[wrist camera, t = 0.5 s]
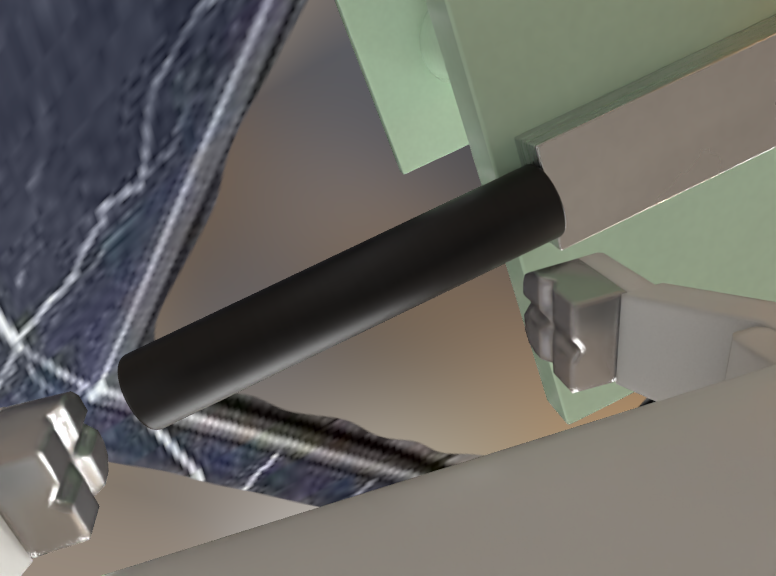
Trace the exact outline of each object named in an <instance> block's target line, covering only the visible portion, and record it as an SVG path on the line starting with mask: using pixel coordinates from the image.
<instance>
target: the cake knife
mask: <svg viewBox="0 0 776 576" xmlns="http://www.w3.org/2000/svg"><path fill="white" fill-rule="evenodd" d="M515 143H516V147H517V151H518V155H519V158H520V162H521V166H522V167H520V168H518V169H516V170H514V171H512V172H510V173H508V174H505V175H503V176H501V177H499V178H497V179H495V180H493V181H491V182H489V183H486V184H484V185H482V186H480V187H478V188H476V189H474V190H472V191H470V192H468V193H465V194H463V195H461V196H459V197H457V198H455V199H453V200H451V201H449V202H446V203H444V204H442V205H440V206H438V207H436V208H434V209H432V210H429V211H428V212H425V213H423V214H421V215H419V216H417V217H415V218H413V219H411V220H409V221H406V222H404V223H402V224H400V225H398V226H396V227H394V228H392V229H389V230H387V231H385V232H383V233H381V234H379V235H377V236H375V237H373V238H370V239H368V240H366V241H364V242H362V243H360V244H358V245H356V246H354V247H351V248H350V249H347V250H345V251H343V252H341V253H339V254H337V255H335V256H332V257H330V258H328V259H326V260H324V261H322V262H320V263H318V264H316V265H314V266H311V267H309V268H307V269H305V270H303V271H301V272H299V273H297V274H294V275H292V276H290V277H288V278H286V279H284V280H282V281H280V282H278V283H275V284H273V285H271V286H269V287H267V288H265V289H263V290H261V291H259V292H257V293H254V294H252V295H250V296H248V297H246V298H244V299H242V300H240V301H237V302H235V303H233V304H231V305H229V306H227V307H225V308H223V309H221V310H219V311H216V312H214V313H213V314H210V315H208V316H206V317H204V318H202V319H199V320H197V321H196V322H193V323H191V324H189V325H187V326H185V327H183V328H181V329H178V330H176V331H174V332H172V333H170V334H168V335H166V336H164V337H162V338H160V339H157V340H155V341H153V342H151V343H149V344H147V345H145V346H143V347H140V348H138V349H136V350H134V351H132V352H130V353H128V354H126V355H124V356H123V357H122V358H121V360H120V361H119V364H118V379H119V384H120V387H121V391H122V393H123V396H124V398H125V400H126V402H127V404H128V406H129V407H130V409H131V411H132V412H133V414H134V415H135V416H136V417H137V418H138V419H139V421H140V422H142V423H143V424H144V425H145V426H147V427H148V428H150V429H154V430H159V429H163V428H165V427H167V426H169V425H171V424H173V423H175V422H177V421H179V420H181V419H184V418H186V417H188V416H190V415H192V414H194V413H196V412H198V411H200V410H202V409H204V408H206V407H208V406H210V405H213V404H215V403H217V402H219V401H221V400H223V399H225V398H227V397H229V396H231V395H233V394H235V393H237V392H239V391H242V390H244V389H246V388H247V387H250V386H252V385H254V384H256V383H258V382H260V381H262V380H264V379H266V378H268V377H271V376H273V375H275V374H277V373H279V372H281V371H283V370H285V369H287V368H289V367H291V366H293V365H295V364H297V363H300V362H302V361H304V360H306V359H308V358H310V357H312V356H314V355H316V354H318V353H320V352H322V351H324V350H327V349H329V348H331V347H333V346H335V345H337V344H339V343H341V342H343V341H345V340H347V339H349V338H351V337H353V336H356V335H357V334H359V333H362V332H364V331H366V330H368V329H370V328H372V327H374V326H376V325H378V324H380V323H383V322H385V321H387V320H389V319H391V318H393V317H395V316H397V315H399V314H401V313H403V312H405V311H407V310H409V309H412V308H414V307H416V306H418V305H420V304H422V303H424V302H426V301H428V300H430V299H432V298H434V297H436V296H438V295H440V294H442V293H445V292H446V291H449V290H451V289H453V288H455V287H457V286H459V285H461V284H463V283H465V282H467V281H470V280H472V279H474V278H476V277H478V276H480V275H482V274H484V273H486V272H488V271H490V270H492V269H494V268H497V267H499V266H501V265H502V264H505V263H507V262H509V261H511V260H513V259H515V258H517V257H519V256H521V255H523V254H526V253H528V252H530V251H532V250H534V249H536V248H538V247H540V246H542V245H544V244H546V243H548V242H549V243H551V244H552V245H554V246H555V247H557V248H558V249H559V250H564V249H566V248H568V247H571V246H573V245H575V244H577V243H579V242H581V241H583V240H585V239H587V238H589V237H591V236H593V235H595V234H597V233H599V232H602V231H604V230H606V229H608V228H610V227H612V226H614V225H616V224H618V223H620V222H622V221H624V220H626V219H628V218H630V217H633V216H635V215H637V214H639V213H641V212H643V211H645V210H647V209H649V208H651V207H653V206H655V205H657V204H659V203H661V202H664V201H666V200H668V199H670V198H672V197H674V196H676V195H678V194H680V193H682V192H684V191H686V190H688V189H690V188H692V187H695V186H697V185H699V184H701V183H703V182H705V181H707V180H709V179H711V178H713V177H715V176H717V175H719V174H721V173H723V172H726V171H728V170H730V169H732V168H734V167H736V166H738V165H740V164H742V163H744V162H746V161H748V160H750V159H752V158H754V157H757V156H759V155H761V154H763V153H765V152H767V151H769V150H771V149H773V148H775V147H776V14H775V15H773V16H771V17H769V18H767V19H765V20H763V21H760V22H758V23H756V24H754V25H752V26H750V27H748V28H746V29H743V30H741V31H739V32H737V33H735V34H733V35H731V36H729V37H726V38H724V39H722V40H720V41H718V42H716V43H714V44H712V45H709V46H707V47H705V48H703V49H701V50H699V51H697V52H695V53H692V54H690V55H688V56H686V57H684V58H682V59H680V60H678V61H675V62H673V63H671V64H669V65H667V66H665V67H663V68H661V69H658V70H656V71H654V72H652V73H650V74H648V75H646V76H644V77H641V78H639V79H637V80H635V81H633V82H631V83H629V84H627V85H624V86H622V87H620V88H618V89H616V90H614V91H612V92H610V93H607V94H605V95H603V96H601V97H599V98H597V99H595V100H593V101H590V102H588V103H586V104H584V105H582V106H580V107H578V108H576V109H573V110H571V111H569V112H567V113H565V114H563V115H561V116H559V117H556V118H554V119H552V120H550V121H548V122H546V123H544V124H542V125H539V126H537V127H535V128H533V129H531V130H529V131H527V132H525V133H522V134H520V135H518V136H516V137H515Z"/></svg>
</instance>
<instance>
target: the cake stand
mask: <svg viewBox="0 0 776 576" xmlns="http://www.w3.org/2000/svg"><path fill="white" fill-rule="evenodd" d="M335 3H336V5H337V8H338V11H339V13H340V16H341V18H342V21H343V24H344V26H345V29H346V31H347V34H348V37H349V39H350V42H351V44H352V47H353V50H354V52H355V55H356V58H357V60H358V63H359V65H360V68H361V71H362V73H363V76H364V78H365V81H366V84H367V86H368V89H369V92H370V94H371V97H372V99H373V102H374V105H375V107H376V110H377V112H378V115H379V118H380V120H381V123H382V125H383V128H384V131H385V133H386V136H387V138H388V141H389V143H390V146H391V149H392V152H393V154H394V156H395V159H396V162H397V164H398V167H399V169H400V172H402V173H403V174H406V173H408V172H411V171H413V170H415V169H417V168H419V167H421V166H423V165H425V164H428V163H429V162H432V161H434V160H436V159H438V158H440V157H442V156H445V155H447V154H449V153H451V152H453V151H455V150H457V149H460V148H462V147H464V146H466V145H468V144H469V145H470V148H471V152H472V155H473V158H474V161H475V165H476V168H477V171H478V175H479V178H480V181H481V184H482V185H484V184H486V183H489V182H491V181H493V180H495V179H497V178H499V177H501V176H503V175H505V174H508V173H510V172H512V171H514V170H516V169H518V168H520V167H522V166H521V162H520V158H519V155H518V151H517V147H516V143H515V137H516V136H518V135H520V134H522V133H525V132H527V131H529V130H531V129H533V128H535V127H537V126H539V125H542V124H544V123H546V122H548V121H550V120H552V119H554V118H556V117H559V116H561V115H563V114H565V113H567V112H569V111H571V110H573V109H576V108H578V107H580V106H582V105H584V104H586V103H588V102H590V101H593V100H595V99H597V98H599V97H601V96H603V95H605V94H607V93H610V92H612V91H614V90H616V89H618V88H620V87H622V86H624V85H627V84H629V83H631V82H633V81H635V80H637V79H639V78H641V77H644V76H646V75H648V74H650V73H652V72H654V71H656V70H658V69H661V68H663V67H665V66H667V65H669V64H671V63H673V62H675V61H678V60H680V59H682V58H684V57H686V56H688V55H690V54H692V53H695V52H697V51H699V50H701V49H703V48H705V47H707V46H709V45H712V44H714V43H716V42H718V41H720V40H722V39H724V38H726V37H729V36H731V35H733V34H735V33H737V32H739V31H741V30H743V29H746V28H748V27H750V26H752V25H754V24H756V23H758V22H760V21H763V20H765V19H767V18H769V17H771V16H773V15H775V14H776V0H335ZM593 253H604V254H606V255H608V256H609V257H611V258H612V259H614V260H616V261H617V262H619V263H621V264H622V265H624V266H625V267H627V268H629V269H630V270H632V271H634V272H635V273H637V274H638V275H640V276H642V277H643V278H645V279H647V280H648V281H650V282H651V283H653V284H655V285H656V284H660V283H667V284H673V285H679V286H685V287H691V288H696V289H702V290H708V291H714V292H720V293H726V294H732V295H738V296H744V297H750V298H756V299H761V300H767V301H773V302H776V147H775V148H773V149H771V150H769V151H767V152H765V153H763V154H761V155H759V156H757V157H754V158H752V159H750V160H748V161H746V162H744V163H742V164H740V165H738V166H736V167H734V168H732V169H730V170H728V171H726V172H723V173H721V174H719V175H717V176H715V177H713V178H711V179H709V180H707V181H705V182H703V183H701V184H699V185H697V186H695V187H692V188H690V189H688V190H686V191H684V192H682V193H680V194H678V195H676V196H674V197H672V198H670V199H668V200H666V201H664V202H661V203H659V204H657V205H655V206H653V207H651V208H649V209H647V210H645V211H643V212H641V213H639V214H637V215H635V216H633V217H630V218H628V219H626V220H624V221H622V222H620V223H618V224H616V225H614V226H612V227H610V228H608V229H606V230H604V231H602V232H599V233H597V234H595V235H593V236H591V237H589V238H587V239H585V240H583V241H581V242H579V243H577V244H575V245H573V246H571V247H568V248H566V249H564V250H559V249H558V248H557V247H555V246H554V245H552V244H551V243H549V242H548V243H546V244H544V245H542V246H540V247H538V248H536V249H534V250H532V251H530V252H528V253H526V254H523V255H521V256H519V257H517V258H515V259H513V260H511V261H509V262H507V263H506V266H507V270H508V272H509V276H510V279H511V283H512V286H513V289H514V292H515V296H516V299H517V302H518V306H519V309H520V312H521V315H522V319H523V322H524V313H525V312H526V310H527V308H528V306H529V305H530V303H531V302H530V300H529V299H528V298H527V297H526V296H525V295H524V294H523V280H524V276H525V274H526V273H529V272H531V271H535V270H538V269H542V268H545V267H549V266H552V265H556V264H559V263H563V262H566V261H570V260H573V259H577V258H580V257H584V256H587V255H590V254H593ZM524 325H525V322H524ZM531 348H532V347H531ZM532 351H533V355H534V358H535V361H536V364H537V368H538V371H539V374H540V377H541V381H542V384H543V387H544V391H545V394H546V397H547V400H548V401H549V403H550V404H551V405H552V406H553V407H554V409H555V410H556V411H557V412H558V413H559V415H560V416H561V417H562V418H563V419H564V421H565V422H566V423H567V424H571V423H573V422H576V421H578V420H580V419H582V418H584V417H586V416H588V415H590V414H591V413H594V412H595V411H598V410H599V409H602V408H603V407H606V406H608V405H609V404H612V403H613V402H616V401H617V400H619V399H621V398H623V397H625V396H627V395H629V394H631V393H633V392H634V391H631V390H629V389H627V388H624V387H622V386H620V385H618V384H616V382H613V383H609V384H605V385H602V386H598V387H594V388H591V389H587V390H583V391H580V392H576V393H572V392H571V391H570V390H569V389H568V388H567V387H566V386H565V385H564V384H563V383H562V382H561V380H560V379H559V378H558V377H557V376H556V375H555V374H554V373H553V363H551V362H548V361H545V360H542V359H540V358H539V356H538V355H537V354H536V353H535V352H534V350H533V348H532Z"/></svg>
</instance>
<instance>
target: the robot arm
mask: <svg viewBox="0 0 776 576" xmlns="http://www.w3.org/2000/svg"><path fill="white" fill-rule="evenodd" d="M523 294H524V295H525V296H526V297H527V298H528V299H529V300H530V302H531V303H530V305H529V306H528V308H527V310H526V312H525V313H524V322H525V330H526V334H527V337H528V340H529V343H530V345H531V347H532V348H533V350H534V352H535V353H536V354H537V355H538V356H539V358H540V359H542V360H545V361H548V362H551V363H553V373H554V374H555V375H556V376H557V377H558V378H559V379H560V380H561V382H562V383H563V384H564V385H565V386H566V387H567V388H568V389H569V390H570V391H571V392H572V393H576V392H580V391H583V390H587V389H591V388H594V387H598V386H602V385H605V384H609V383H613V382H616V384H618V385H620V386H622V387H624V388H627V389H629V390H631V391H634V392H636V393H638V394H641V395H643V396H645V397H648V398H650V399H652V400H654V401H657V402H654V403H651V404H647V405H644V406H641V407H638V408H635V409H632V410H628V411H625V412H622V413H619V414H616V415H612V416H609V417H606V418H603V419H600V420H596V421H593V422H590V423H587V424H584V425H580V426H577V427H575V428H571V429H568V430H565V431H561V432H558V433H555V434H552V435H549V436H546V437H542V438H539V439H536V440H533V441H530V442H526V443H523V444H520V445H517V446H514V447H510V448H507V449H504V450H501V451H498V452H494V453H491V454H488V455H485V456H482V457H478V458H475V459H472V460H469V461H466V462H463V463H459V464H456V465H453V466H450V467H447V468H443V469H440V470H437V471H434V472H431V473H427V474H424V475H421V476H418V477H415V478H411V479H408V480H405V481H402V482H399V483H396V484H392V485H389V486H386V487H383V488H380V489H376V490H373V491H370V492H367V493H364V494H360V495H357V496H354V497H351V498H348V499H344V500H341V501H338V502H335V503H332V504H328V505H325V506H322V507H319V508H316V509H313V510H309V511H306V512H303V513H300V514H297V515H294V516H290V517H287V518H284V519H281V520H278V521H274V522H271V523H268V524H265V525H261V526H258V527H255V528H252V529H249V530H245V531H242V532H239V533H236V534H233V535H230V536H226V537H223V538H220V539H217V540H214V541H211V542H207V543H204V544H201V545H198V546H194V547H191V548H188V549H185V550H182V551H179V552H175V553H172V554H169V555H166V556H163V557H159V558H156V559H153V560H150V561H146V562H144V563H140V564H137V565H134V566H131V567H128V568H124V569H121V570H118V571H115V572H111V573H108V574H105V575H102V576H776V302H773V301H767V300H761V299H756V298H750V297H744V296H738V295H732V294H726V293H720V292H714V291H708V290H702V289H696V288H691V287H685V286H679V285H673V284H667V283H660V284H656V285H655V284H653V283H651V282H650V281H648V280H647V279H645V278H643V277H642V276H640V275H638V274H637V273H635V272H634V271H632V270H630V269H629V268H627V267H625V266H624V265H622V264H621V263H619V262H617V261H616V260H614V259H612V258H611V257H609V256H608V255H606V254H604V253H593V254H590V255H587V256H584V257H580V258H577V259H573V260H570V261H566V262H563V263H559V264H556V265H552V266H549V267H545V268H542V269H538V270H535V271H531V272H529V273H526V274H525V276H524V280H523ZM86 414H87V409H86V407H85V405H84V404H83V402H82V400H81V399H80V397H79V395H77V394H75V393H73V392H71V391H70V392H66V393H62V394H58V395H54V396H49V397H45V398H41V399H37V400H33V401H29V402H25V403H21V404H16V405H12V406H9V407H2V408H0V576H21V575H22V574H23V573H24V571H25V570H26V569H27V568H28V566H29V565H30V564H31V563H32V561H33V560H32V558H35V557H38V556H41V555H44V554H47V553H50V552H53V551H56V550H59V549H62V548H65V547H69V546H71V545H74V544H78V543H81V542H83V541H87V540H89V539H90V537H91V534H92V530H93V527H94V523H95V520H96V516H97V513H98V509H99V504H98V503H97V501H96V499H95V498H94V496H95V495H96V494H97V493H98V492H99V491H100V490H101V489H102V488H103V487H104V486H105V484H106V479H107V476H108V454H107V451H106V447H105V444H104V441H103V439H102V437H101V435H100V433H99V431H98V430H96V429H94V428H92V427H90V426H88V425H86V424H84V423H83V422H84V420H85V417H86Z"/></svg>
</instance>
